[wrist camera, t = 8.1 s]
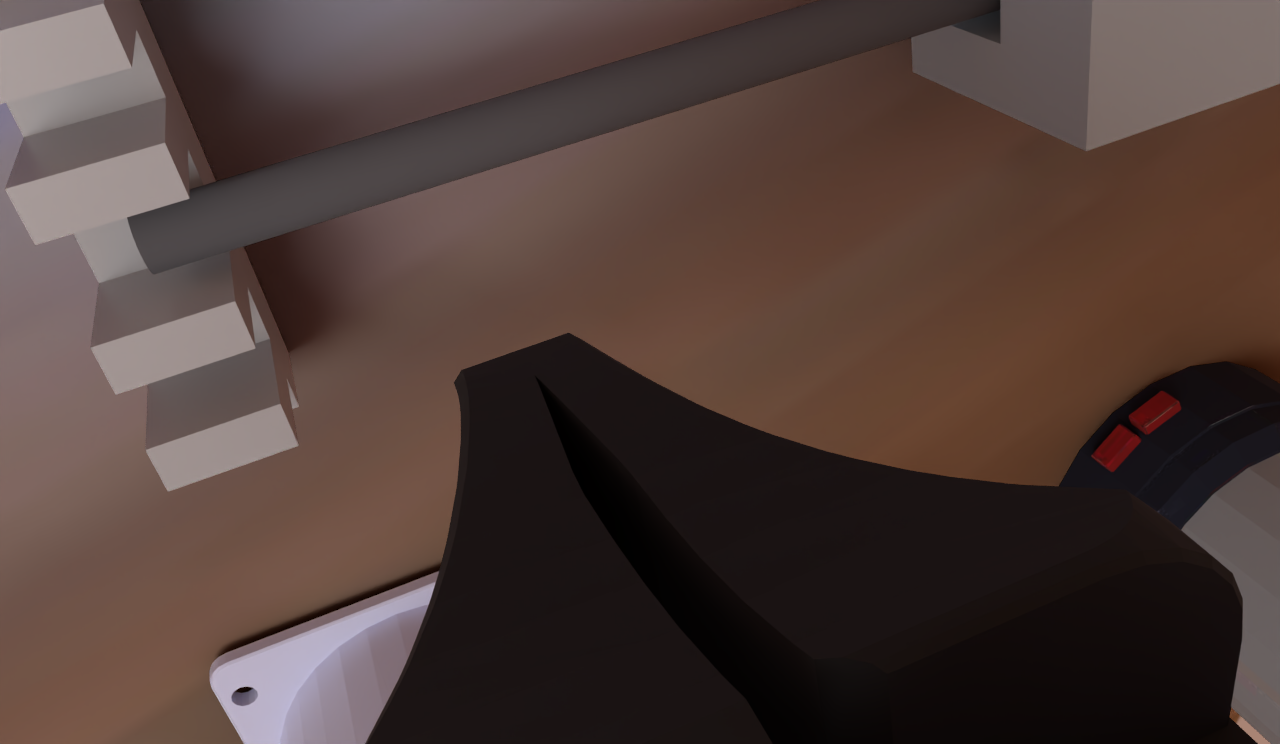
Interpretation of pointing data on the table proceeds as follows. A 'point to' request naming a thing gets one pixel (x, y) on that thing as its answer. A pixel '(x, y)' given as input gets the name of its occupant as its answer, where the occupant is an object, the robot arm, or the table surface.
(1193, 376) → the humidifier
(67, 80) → the cable comb
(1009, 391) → the table surface
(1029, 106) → the grey slotted cube
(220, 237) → the dark grey rod
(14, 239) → the table surface
